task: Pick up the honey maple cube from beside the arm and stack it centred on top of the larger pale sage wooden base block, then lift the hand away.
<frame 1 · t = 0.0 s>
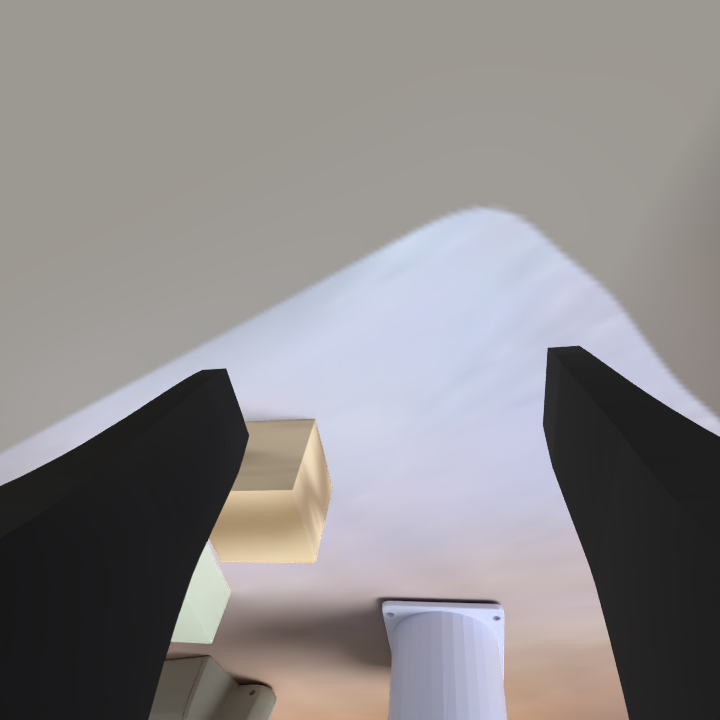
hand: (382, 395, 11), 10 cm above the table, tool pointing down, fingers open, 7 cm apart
maple cube: (281, 455, 26), on the table
sage base block: (145, 542, 33), on the table
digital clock: (195, 679, 43), on the table
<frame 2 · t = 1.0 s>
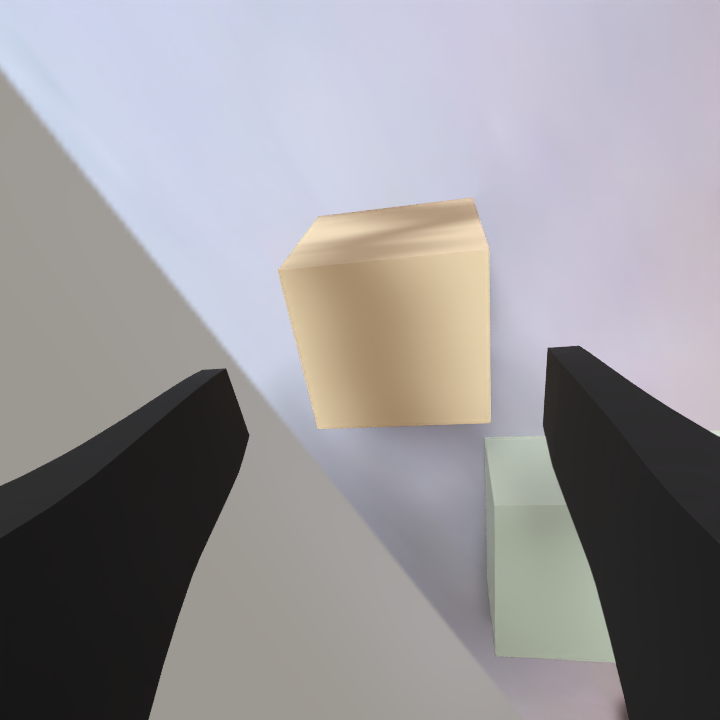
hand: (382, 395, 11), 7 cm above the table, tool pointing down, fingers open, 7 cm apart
maple cube: (401, 278, 16), on the table
sage base block: (597, 512, 21), on the table
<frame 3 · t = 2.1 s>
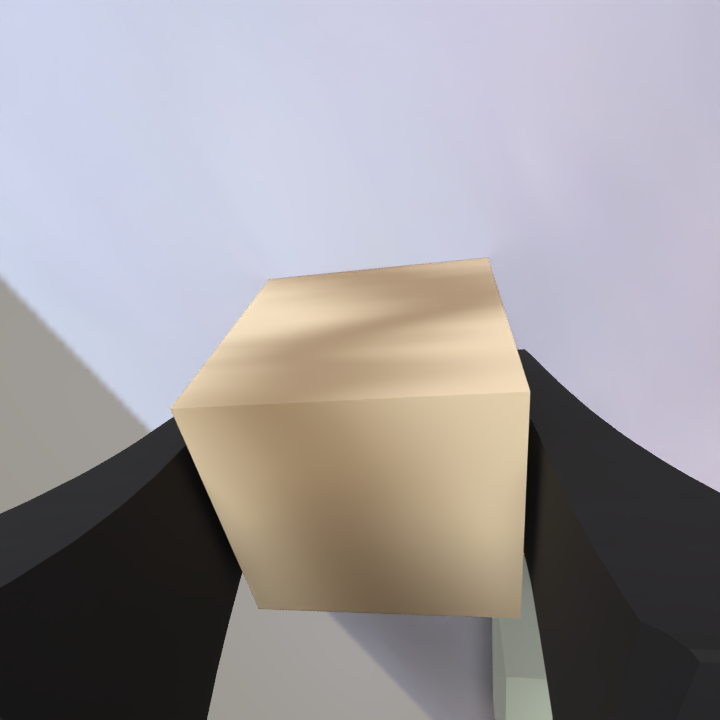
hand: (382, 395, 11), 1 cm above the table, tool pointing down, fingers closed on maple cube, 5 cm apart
maple cube: (387, 362, 12), on the table, touching gripper
sage base block: (632, 635, 17), on the table
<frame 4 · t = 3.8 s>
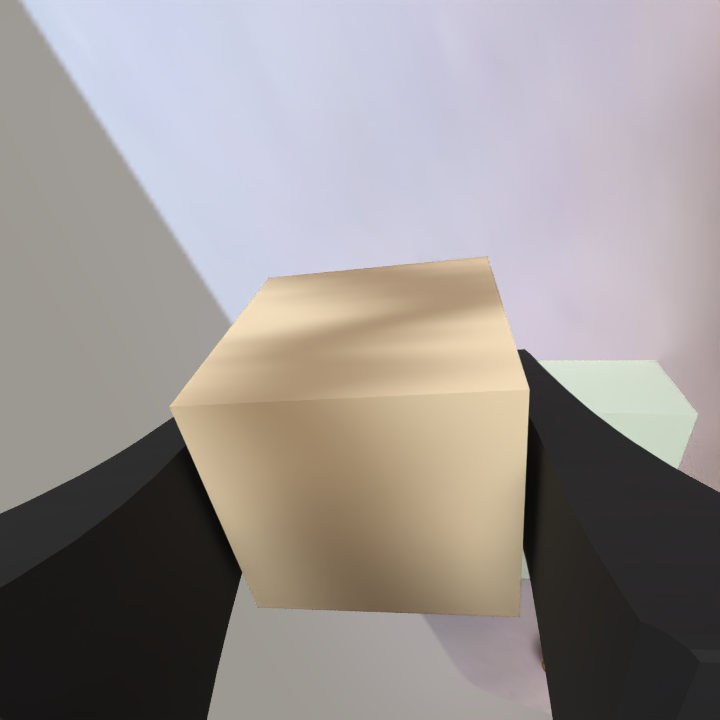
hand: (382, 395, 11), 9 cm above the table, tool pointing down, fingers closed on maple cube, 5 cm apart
maple cube: (386, 361, 12), point 8 cm above the table, touching gripper
sage base block: (518, 442, 23), on the table
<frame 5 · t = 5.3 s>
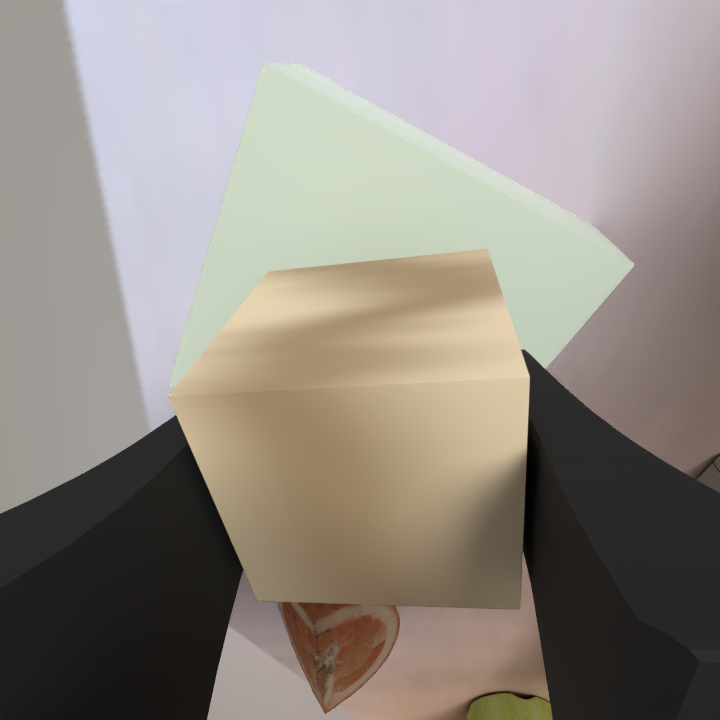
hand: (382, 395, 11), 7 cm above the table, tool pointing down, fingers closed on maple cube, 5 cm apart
fruit slice: (341, 575, 26), on the table
maple cube: (386, 355, 12), point 5 cm above the table, touching gripper
plant pot: (513, 708, 32), on the table
sage base block: (380, 281, 17), on the table
when the fingers open (7 cm above the table, at t = 5.8 s): maple cube drops 2 cm, resting on sage base block.
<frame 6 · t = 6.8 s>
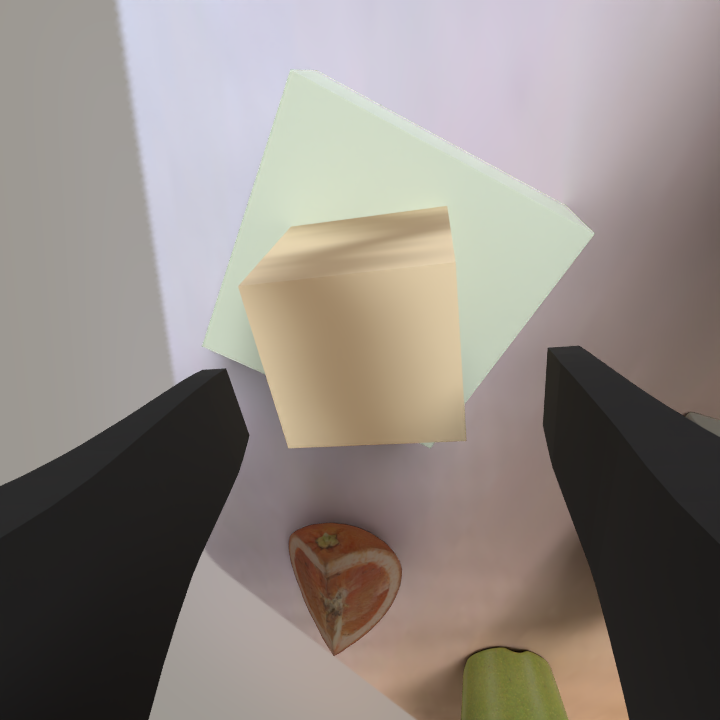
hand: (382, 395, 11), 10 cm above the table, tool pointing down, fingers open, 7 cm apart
fruit slice: (348, 533, 29), on the table
maple cube: (377, 290, 16), point 4 cm above the table, touching sage base block
plant pot: (506, 664, 34), on the table
sage base block: (383, 257, 19), on the table, touching maple cube
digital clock: (705, 494, 24), on the table
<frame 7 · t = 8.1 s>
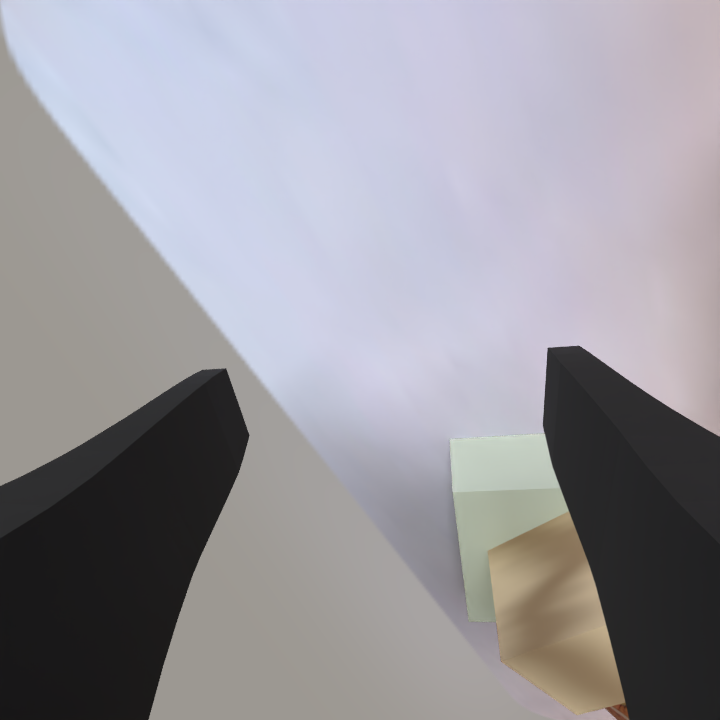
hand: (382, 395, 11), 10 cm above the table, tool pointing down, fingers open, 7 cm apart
maple cube: (564, 557, 22), point 4 cm above the table
sage base block: (550, 498, 26), on the table
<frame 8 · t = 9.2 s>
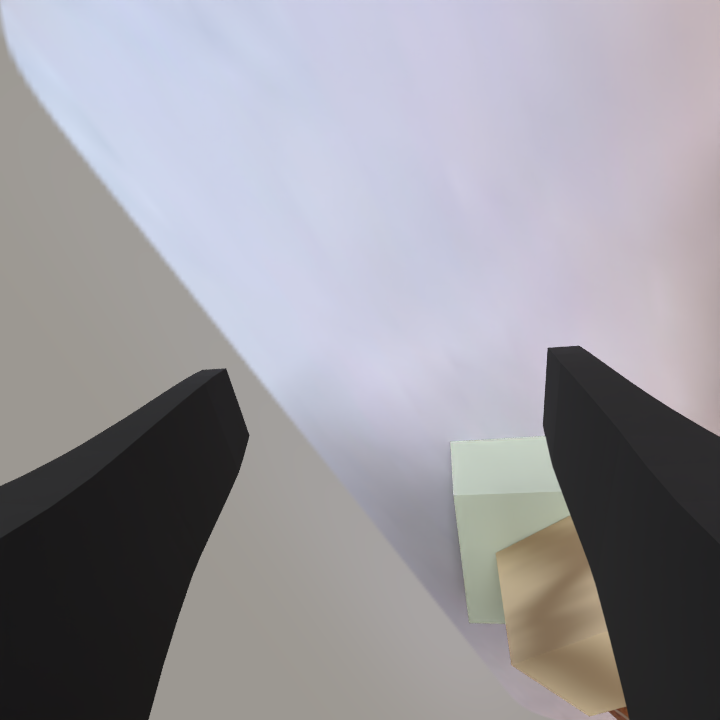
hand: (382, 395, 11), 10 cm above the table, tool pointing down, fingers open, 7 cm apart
maple cube: (572, 558, 22), point 4 cm above the table, touching sage base block
sage base block: (550, 500, 26), on the table, touching maple cube
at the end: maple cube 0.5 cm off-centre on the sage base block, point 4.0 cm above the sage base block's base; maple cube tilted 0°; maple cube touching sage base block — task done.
